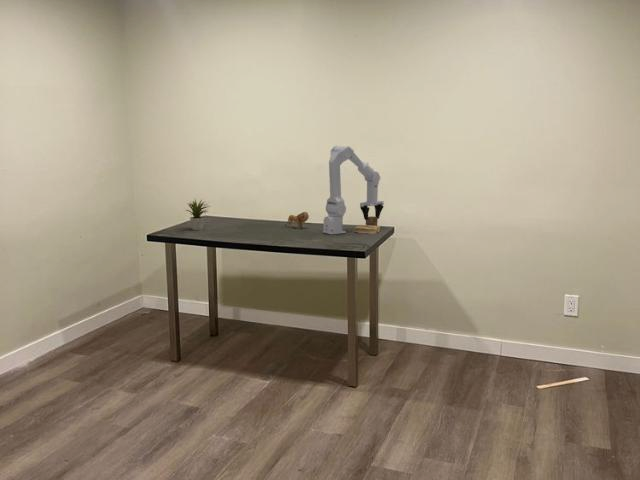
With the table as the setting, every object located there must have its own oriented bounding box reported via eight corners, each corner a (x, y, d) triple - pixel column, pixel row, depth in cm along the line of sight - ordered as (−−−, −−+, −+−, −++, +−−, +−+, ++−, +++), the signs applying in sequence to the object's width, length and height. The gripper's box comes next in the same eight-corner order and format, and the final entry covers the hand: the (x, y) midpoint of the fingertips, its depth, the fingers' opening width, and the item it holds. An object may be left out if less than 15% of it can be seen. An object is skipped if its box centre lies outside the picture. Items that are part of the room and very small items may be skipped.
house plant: (204, 232, 305) (203, 200, 302) (179, 231, 308) (178, 199, 305) (215, 228, 319) (214, 197, 316) (190, 227, 321) (189, 196, 318)
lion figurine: (310, 228, 321) (310, 211, 319) (305, 229, 316) (305, 212, 314) (286, 226, 327) (286, 209, 325) (281, 227, 322) (281, 210, 321)
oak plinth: (375, 234, 303) (375, 229, 303) (354, 232, 307) (354, 227, 306) (380, 230, 313) (380, 225, 313) (360, 229, 317) (360, 224, 316)
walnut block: (370, 229, 318) (371, 218, 317) (365, 228, 322) (365, 216, 321) (377, 228, 321) (377, 217, 320) (372, 227, 324) (372, 216, 323)
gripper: (366, 195, 311) (365, 221, 313) (387, 193, 319) (386, 219, 321) (357, 194, 317) (357, 219, 319) (379, 192, 324) (378, 217, 327)
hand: (371, 219), depth 321 cm, fingers open, 7 cm apart
